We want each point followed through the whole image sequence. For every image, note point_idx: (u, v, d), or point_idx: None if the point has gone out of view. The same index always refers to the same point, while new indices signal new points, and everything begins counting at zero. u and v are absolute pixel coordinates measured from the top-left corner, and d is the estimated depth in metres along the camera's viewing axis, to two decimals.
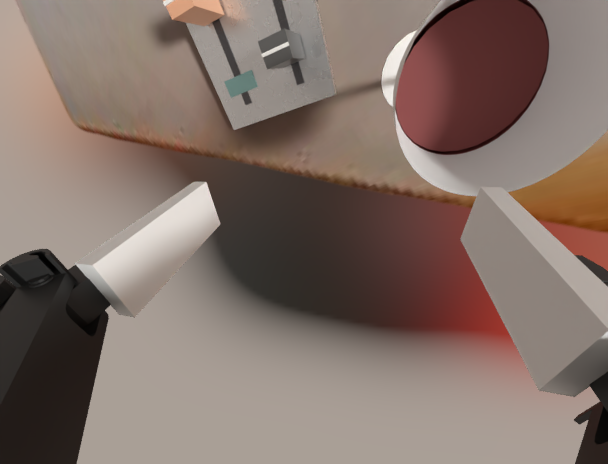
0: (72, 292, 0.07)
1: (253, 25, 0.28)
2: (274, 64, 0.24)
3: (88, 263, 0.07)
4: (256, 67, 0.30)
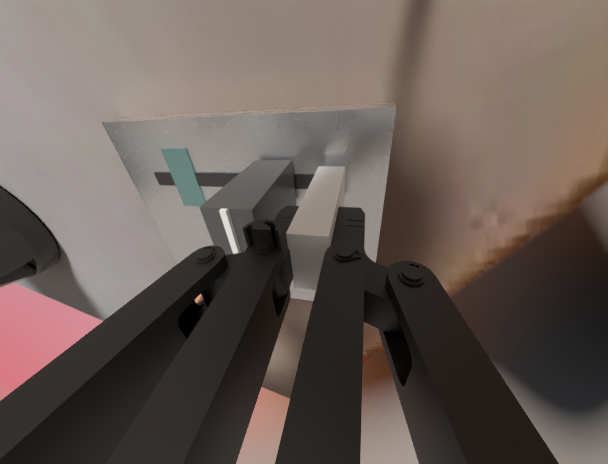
0: (279, 269, 0.08)
1: None
2: None
3: (301, 233, 0.08)
4: None
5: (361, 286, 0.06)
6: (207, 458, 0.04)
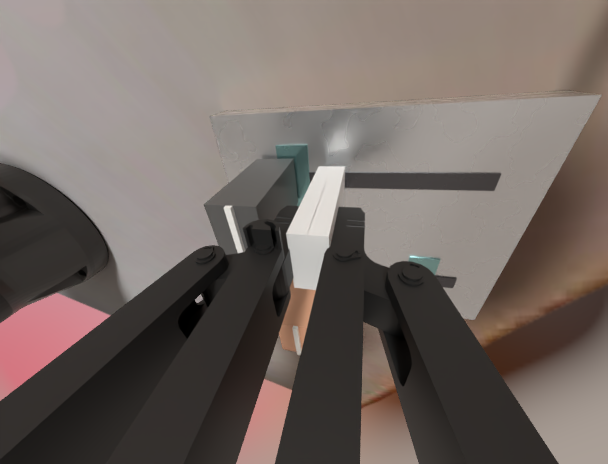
0: (279, 269, 0.08)
1: None
2: None
3: (301, 233, 0.08)
4: (411, 248, 0.16)
5: (361, 286, 0.06)
6: (207, 458, 0.04)
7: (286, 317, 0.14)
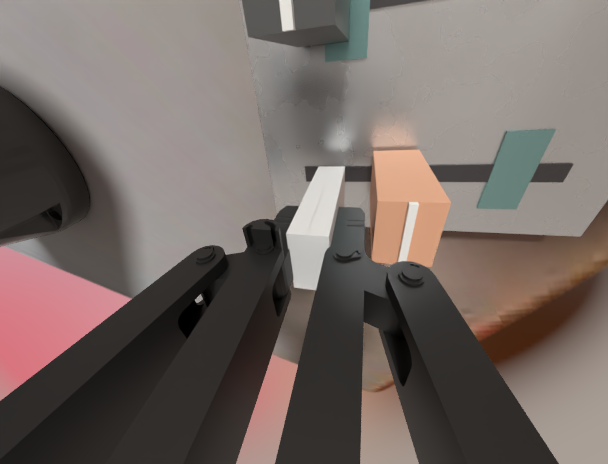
0: (279, 269, 0.08)
1: (432, 86, 0.11)
2: None
3: (301, 233, 0.08)
4: (512, 114, 0.11)
5: (361, 286, 0.06)
6: (207, 458, 0.04)
7: (391, 195, 0.09)
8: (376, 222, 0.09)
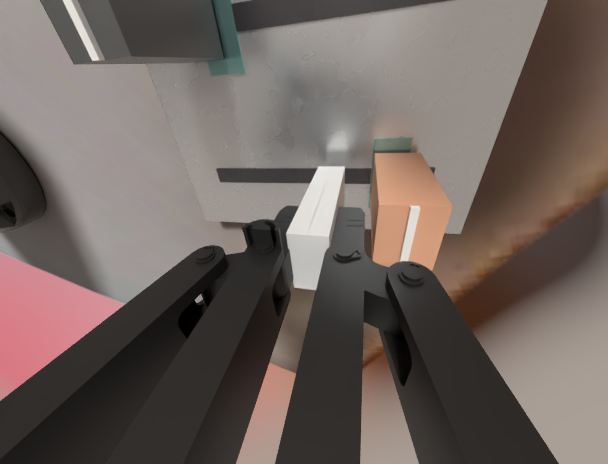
0: (279, 269, 0.08)
1: (304, 98, 0.13)
2: (111, 16, 0.07)
3: (301, 233, 0.08)
4: (375, 124, 0.13)
5: (361, 286, 0.06)
6: (207, 459, 0.04)
7: (392, 199, 0.09)
8: (377, 225, 0.09)
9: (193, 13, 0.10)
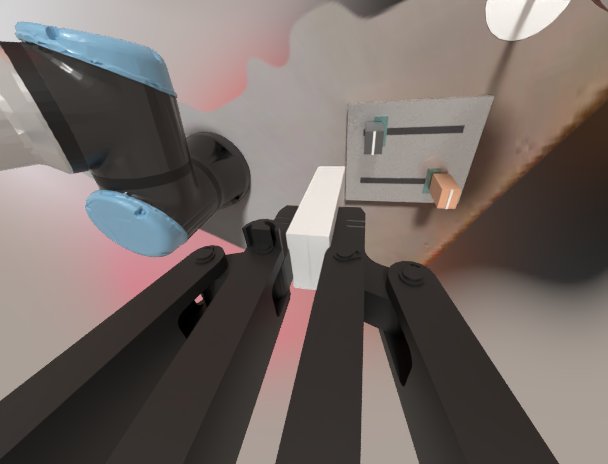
0: (279, 269, 0.08)
1: (404, 154, 0.37)
2: (381, 147, 0.31)
3: (300, 233, 0.08)
4: (428, 163, 0.37)
5: (361, 286, 0.06)
6: (207, 458, 0.04)
7: (445, 188, 0.33)
8: (441, 195, 0.33)
9: None
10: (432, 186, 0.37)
